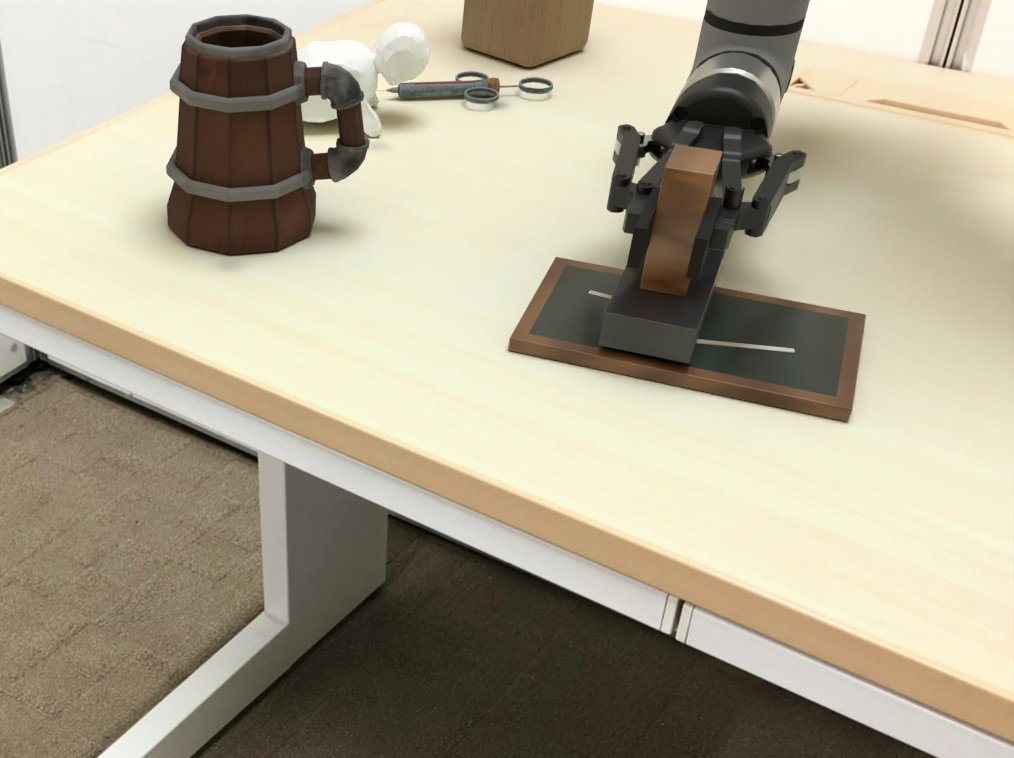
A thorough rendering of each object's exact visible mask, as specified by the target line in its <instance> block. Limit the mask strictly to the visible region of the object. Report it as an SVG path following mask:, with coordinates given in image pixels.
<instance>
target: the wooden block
mask: <svg viewBox="0 0 1014 758" xmlns="http://www.w3.org/2000/svg"><path fill="white" fill-rule="evenodd" d="M594 3H595V0H464V2H463V12H462V23H461V32H460V33H461V35H460V40H461V44H462V45H463V46H464V47H465V48H468V49H471V50H474V51H477V52H479V53H483V54H485V55H489V56H492V57H495V58H498V59H501V60H504V61H508V62H510V63H514V64H516V65H519V66H523V67H526V68H532V67H536V66H539V65H542V64H545V63H548V62H550V61H553V60H555V59H558V58H561V57H564V56H568V55H569V54H572V53H575V52H578V51H580V50H583V49H584V48H585V47H586V45H587V44H588V41H589V37H590V29H591V23H592V15H593V9H594Z"/></svg>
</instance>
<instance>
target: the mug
mask: <svg viewBox="0 0 1014 758" xmlns="http://www.w3.org/2000/svg"><path fill="white" fill-rule="evenodd" d="M180 48H181V50H180V62H179V64H178V65H177V67H176V69H175V71H174V72H173V74H172V75H171V78H170V80H169V90H170V92H172V93H173V94H174V95H176V96H177V97H178V99H179V100H178V117H177V134H176V137H177V138H176V146H175V148H174V150H173V152H172V153H171V156H170V158H169V159H168V162H167V163H166V166H165V172H166V175H167V176H168V177H169V178H170V179H171V180H172V181H173V184H172V187H171V190H170V193H169V196H168V200H167V203H166V217H167V227H169V229H171V230H172V231H173V232H174V233H175V234H176V235H177V236H178V237H179V238H180V239H181V240H182V241H183V242H184V243H185V244H186V245H187V246H192V247H196V248H200V249H204V250H208V251H212V252H213V251H214V252H217V253H221V254H225V255H240V254H249V253H250V254H252V253H263V252H264V253H265V252H276V251H280V250H281V249H283V248H286V247H287V246H290V245H292V244H293V243H296V242H298V241H300V240H302V239H304V238H306V237H308V236H310V235H311V233H312V229H313V226H314V222H315V218H316V214H317V192H316V190H315V187H314V186H315V185H316V181H323V180H331V181H332V182H333V183H335V184H337V183H339V182H340V181H344V180H346V179H347V178H349V177H350V176H351V175H353V174H354V173H355V172H357V171H358V170H359V169H360V167H361V166H362V164H363V163H364V161H365V160H366V157H367V152H368V150H369V148H370V144H371V143H370V142H371V140H370V139H369V138H367V137H366V136H365V135H366V134H365V133H364V126H363V117H362V107H361V101H363V99H364V93H363V91H361V88H360V86H359V83H358V81H357V80H356V79H355V78H354V77H353V76H352V74H351V73H350V72H348V71H347V70H345V69H344V68H342V67H341V66H339V65H336V64H331V63H328V62H327V61H324V62H323V64H322V67H307V65H306V63H305V62H302V61H298V57H297V51H298V50H297V49H298V48H297V41H296V38H295V36H293V30H292V28H291V27H290V26H288V25H286V24H284V23H282V22H281V21H279V20H278V19H276V18H274V17H268V16H267V17H266V16H262V15H256V14H248V13H246V14H245V13H243V14H225V15H215V16H211V17H208V18H205V19H202V20H198V21H196V22H193V23H191V25H190V27H189V29H188V30H187V32H186V34H185V36H184V41H183V43H182V45H181V47H180ZM315 95H321V98H322V100H326V99H329V100H330V101H331V108H332V109H335V110H336V111H337V118H336V120H337V129H338V138H336V142H335V147H333V146H331V147H328V149H327V152H318V153H317V152H316V153H315V152H314V150H313V149H312V148H309V147H307V146H306V141H305V129H304V121H303V119H302V109H301V104H302V103H305V102H307V101H308V98H309V96H315Z"/></svg>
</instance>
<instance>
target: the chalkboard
mask: <svg viewBox="0 0 1014 758" xmlns="http://www.w3.org/2000/svg"><path fill="white" fill-rule="evenodd" d="M624 269H625V268H618V267H613V266H608V265H602V264H597V263H592V262H586V261H580V260H576V259H569V258H565V257H560V256H555V257H554V259H553V261H552V263H551V264H550V266H549V268H548V270H547V271H546V273H545V274H544V277H543V279H542V280H541V282H540V284H539V286H538V287H537V289H536V291H535V292H534V295H533V296H532V298H531V300H530V302H529V304H528V305H527V307H526V308H525V310H524V312H523V313H522V316H521V318H520V319H519V321H518V323H517V325H516V326H515V327H514V330H513V332H512V333H511V335H510V337H509V339H508V347H507V349H508V351H510V352H515V353H519V354H524V355H528V356H534V357H539V358H543V359H548V360H551V361H552V360H553V361H556V362H557V361H558V362H562V363H566V364H570V365H571V364H572V365H575V366H580V367H586V368H591V369H595V370H601V371H605V372H609V373H615V374H619V375H623V376H628V377H634V378H638V379H643V380H647V381H651V382H652V381H653V382H655V383H656V382H657V383H661V384H667V385H670V386H676V387H680V388H685V389H690V390H693V391H699V392H703V393H704V392H705V393H709V394H713V395H718V396H723V397H727V398H733V399H737V400H742V401H746V402H751V403H754V404H755V403H756V404H760V405H765V406H770V407H774V408H780V409H784V410H789V411H794V412H798V413H804V414H808V415H813V416H816V417H823V418H826V419H827V418H828V419H832V420H836V421H841V422H847V423H848V422H849V420H850V417H851V414H852V412H853V407H854V401H855V394H856V388H857V381H858V372H859V366H860V358H861V352H862V347H863V346H862V345H863V339H864V333H865V325H866V319H867V314H866V313H860V312H855V311H850V310H844V309H839V308H833V307H828V306H824V305H819V304H814V303H813V304H812V303H807V302H801V301H797V300H791V299H785V298H780V297H775V296H770V295H764V294H758V293H753V292H752V293H751V292H748V291H743V290H737V289H732V288H725V287H722V286H721V287H720V286H716V288H715V291H714V294H713V297H712V300H711V303H710V306H709V309H708V312H707V315H706V318H705V321H704V324H703V327H702V330H701V333H700V336H699V339H698V342H697V345H696V347H695V350H694V353H693V356H692V359H691V362H690V364H688V363H683V362H678V361H673V360H668V359H664V358H659V357H654V356H649V355H644V354H639V353H634V352H629V351H624V350H619V349H615V348H610V347H605V346H600V345H598V343H599V338H600V332H601V327H602V322H603V316H604V312H605V310H606V308H607V305H608V303H609V301H610V299H611V297H612V295H613V292H614V290H615V288H616V286H617V284H618V282H619V280H620V277H621V275H622V273H623V271H624Z"/></svg>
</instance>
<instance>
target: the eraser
mask: <svg viewBox="0 0 1014 758" xmlns="http://www.w3.org/2000/svg"><path fill="white" fill-rule="evenodd" d="M722 153H723V152H722V151H717V150H710V149H704V148H697V147H691V146H684V145H677V144H676V145H675V147H674V149H673V151H672V153H671V155H670V157H669V159H668V161H667V163H666V166H665V168H664V172H663V177H662V182H661V187H660V192H659V197H658V201H657V208H656V213H655V218H654V223H653V227H652V232H651V237H650V242H649V246H648V248H647V251H646V253H645V255H644V257H643V260H642V262H641V264H640V266H639V269H635V268H630V267H626V266H627V264H626V265H625V267H624V268H623V269H624V271H623V273H622V275H621V277H620V280H619V282H618V284H617V286H616V288H615V290H614V292H613V295H612V297H611V299H610V301H609V303H608V305H607V308H606V310H605V312H604V316H603V322H602V327H601V332H600V338H599V343H598V345H600V346H605V347H610V348H615V349H619V350H624V351H629V352H634V353H639V354H644V355H649V356H654V357H659V358H664V359H668V360H673V361H678V362H683V363H688V364H690V362H691V359H692V356H693V353H694V350H695V347H696V345H697V342H698V339H699V336H700V333H701V330H702V327H703V324H704V321H705V318H706V315H707V312H708V309H709V306H710V303H711V300H712V297H713V294H714V291H715V288H716V287H717V285H718V282H719V277H720V274H721V270H722V267H723V266H722V265H723V262H724V258H725V255H726V250H724V251H723V250H717V249H711V248H709V251H708V254H707V256H706V259H705V262H704V265H703V267H702V270H701V273H700V276H699V278H698V280H695V279H690V278H686V274H687V270H688V266H689V261H690V257H691V253H692V248H693V244H694V240H695V236H696V234H697V231H698V229H699V226H700V224H701V221H702V218H703V216H704V214H705V212H706V209H707V206H708V204H709V201H710V199H711V196H712V197H713V191H714V187H715V183H716V178H717V174H718V170H719V166H720V161H721V157H722Z"/></svg>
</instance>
